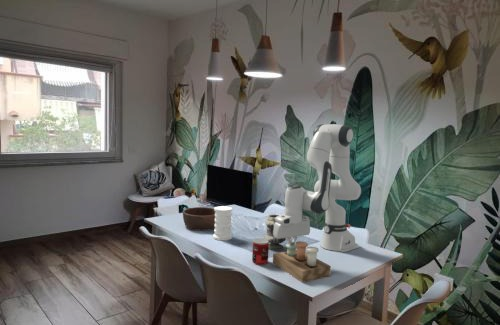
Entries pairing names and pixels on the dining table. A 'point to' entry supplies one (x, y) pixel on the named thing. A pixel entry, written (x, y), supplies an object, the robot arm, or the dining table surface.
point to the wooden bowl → (199, 218)
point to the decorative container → (222, 223)
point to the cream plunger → (311, 255)
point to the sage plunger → (291, 250)
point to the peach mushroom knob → (301, 250)
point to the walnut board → (301, 267)
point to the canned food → (260, 251)
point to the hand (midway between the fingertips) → (291, 245)
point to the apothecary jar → (269, 235)
